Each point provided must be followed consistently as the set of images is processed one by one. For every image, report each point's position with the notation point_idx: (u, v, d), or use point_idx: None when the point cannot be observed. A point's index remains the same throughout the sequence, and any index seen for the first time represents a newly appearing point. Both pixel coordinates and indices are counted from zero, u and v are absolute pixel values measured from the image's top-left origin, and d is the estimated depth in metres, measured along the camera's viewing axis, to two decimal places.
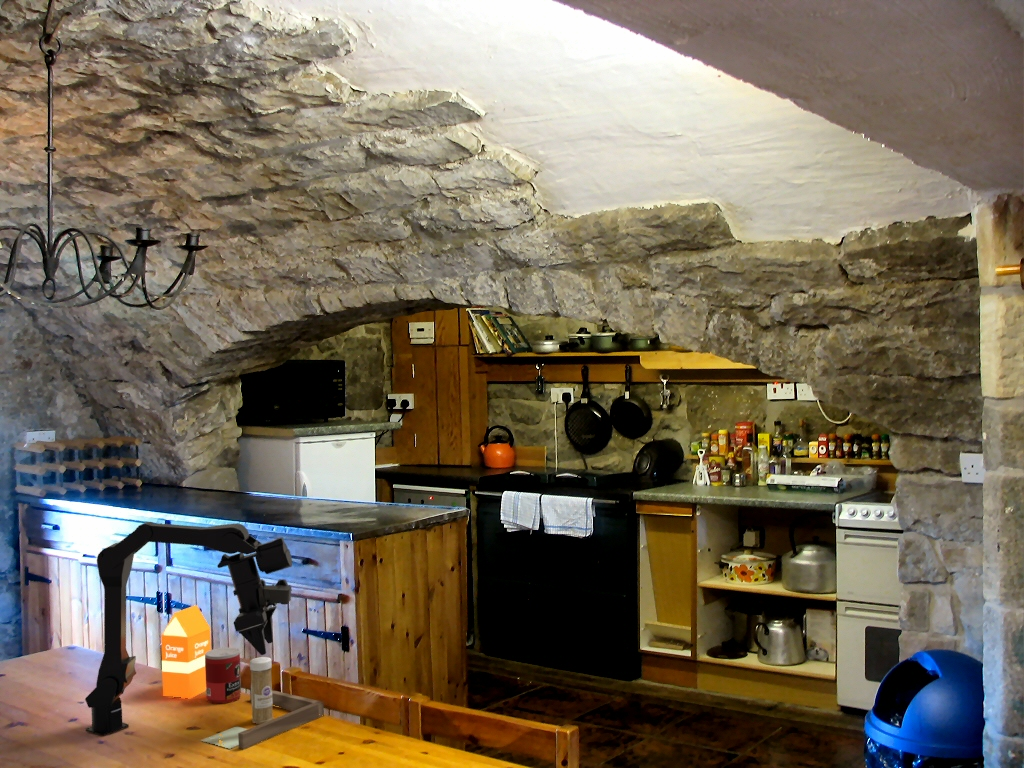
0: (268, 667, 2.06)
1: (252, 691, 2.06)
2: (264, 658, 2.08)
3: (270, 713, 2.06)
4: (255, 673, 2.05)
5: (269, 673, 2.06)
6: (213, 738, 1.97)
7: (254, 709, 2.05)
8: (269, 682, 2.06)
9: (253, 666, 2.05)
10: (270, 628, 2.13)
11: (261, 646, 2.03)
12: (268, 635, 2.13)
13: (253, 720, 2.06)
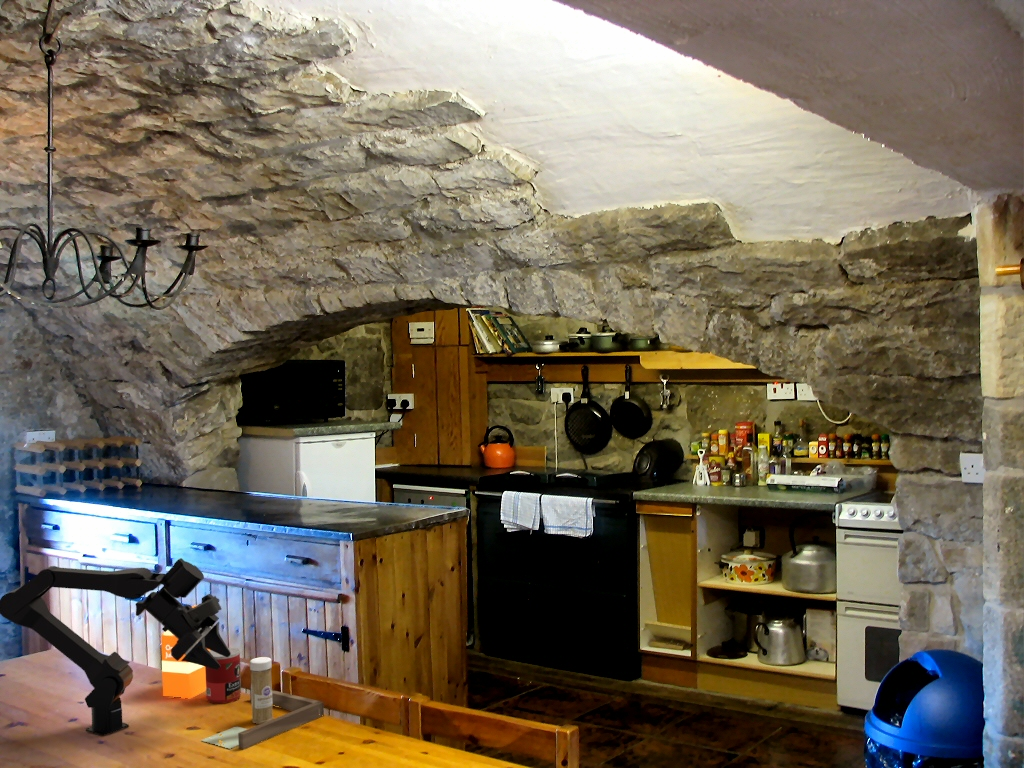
0: (268, 667, 2.06)
1: (252, 691, 2.06)
2: (264, 658, 2.08)
3: (270, 713, 2.06)
4: (255, 673, 2.05)
5: (269, 673, 2.06)
6: (213, 738, 1.97)
7: (254, 709, 2.05)
8: (269, 682, 2.06)
9: (253, 666, 2.05)
10: (221, 643, 2.11)
11: (212, 662, 2.01)
12: (223, 650, 2.11)
13: (253, 720, 2.06)
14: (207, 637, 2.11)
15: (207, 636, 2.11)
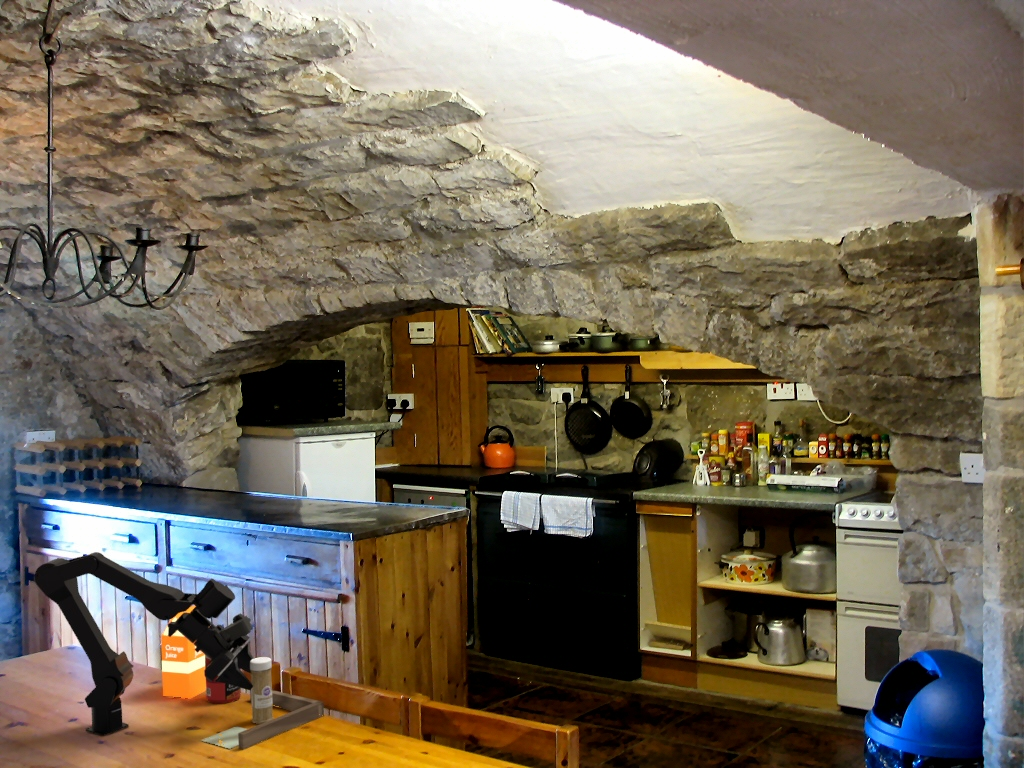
0: (268, 667, 2.06)
1: (252, 691, 2.06)
2: (264, 658, 2.08)
3: (270, 713, 2.06)
4: (255, 673, 2.05)
5: (269, 673, 2.06)
6: (213, 738, 1.97)
7: (254, 709, 2.05)
8: (269, 682, 2.06)
9: (253, 666, 2.05)
10: None
11: (244, 682, 2.02)
12: None
13: (253, 720, 2.06)
14: (238, 657, 2.12)
15: (239, 655, 2.12)
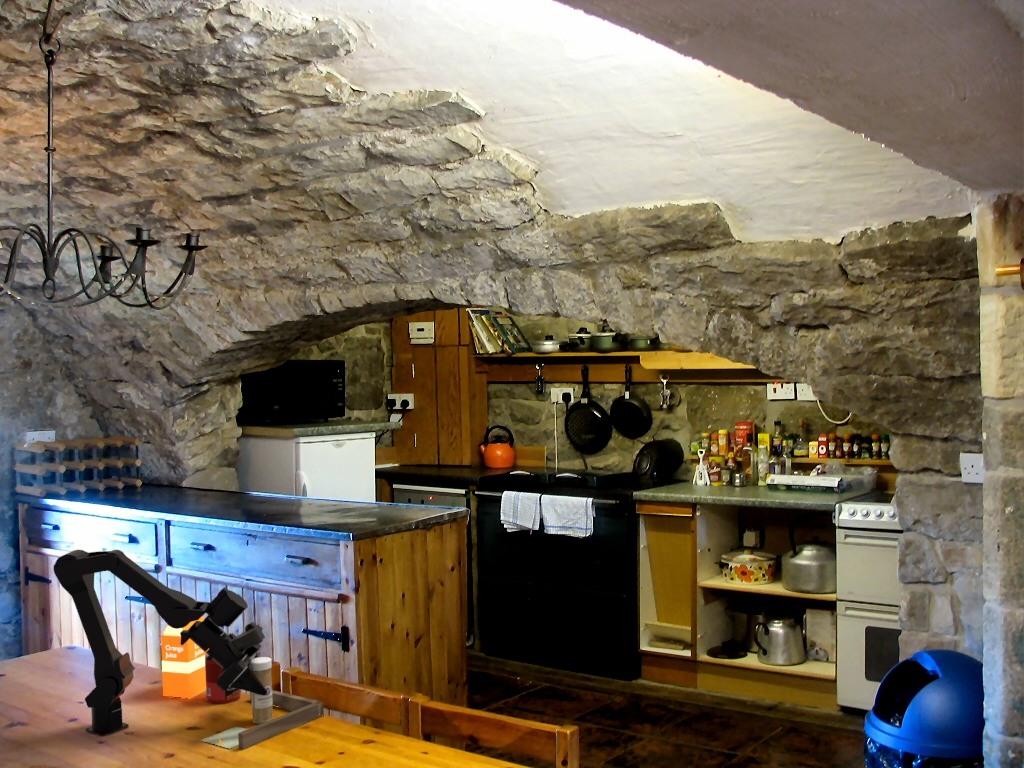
0: (268, 667, 2.06)
1: None
2: (264, 658, 2.08)
3: (270, 713, 2.06)
4: (255, 673, 2.05)
5: (269, 673, 2.06)
6: (213, 738, 1.97)
7: (254, 709, 2.05)
8: (269, 682, 2.06)
9: (253, 666, 2.05)
10: None
11: (259, 688, 2.04)
12: None
13: (253, 720, 2.06)
14: None
15: None
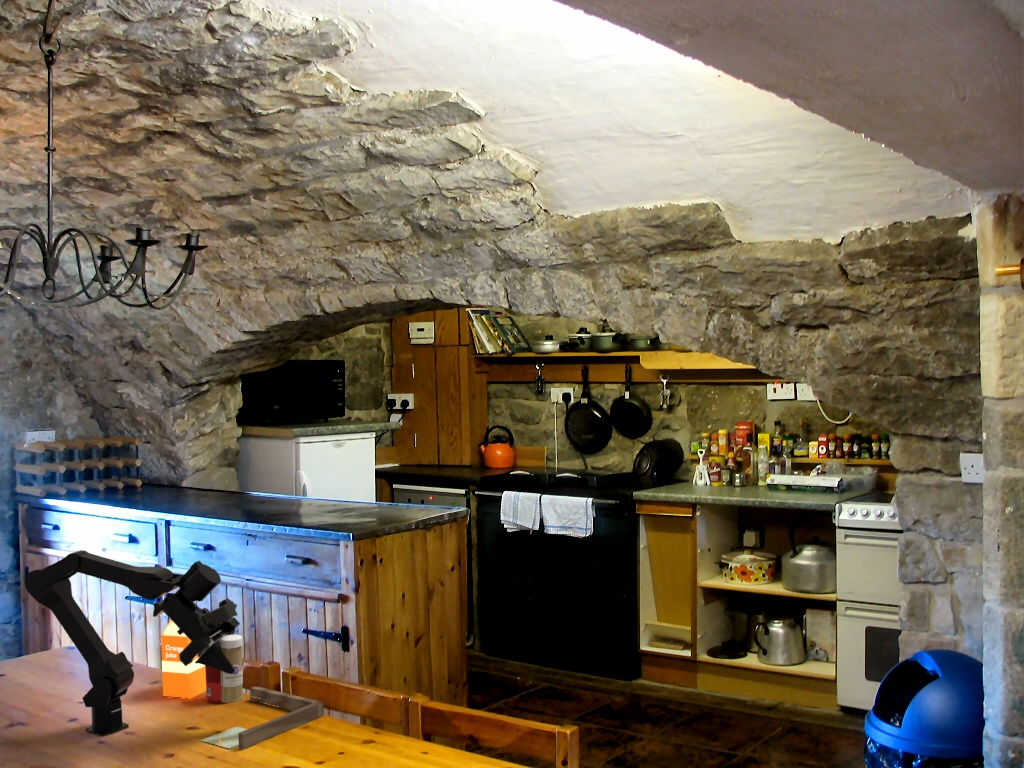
0: (237, 645, 2.00)
1: None
2: (235, 636, 2.02)
3: (239, 692, 2.01)
4: (224, 650, 2.00)
5: (238, 651, 2.01)
6: (213, 738, 1.97)
7: (222, 687, 2.00)
8: (238, 661, 2.01)
9: (222, 643, 2.00)
10: None
11: (226, 666, 1.99)
12: None
13: (222, 698, 2.01)
14: None
15: None
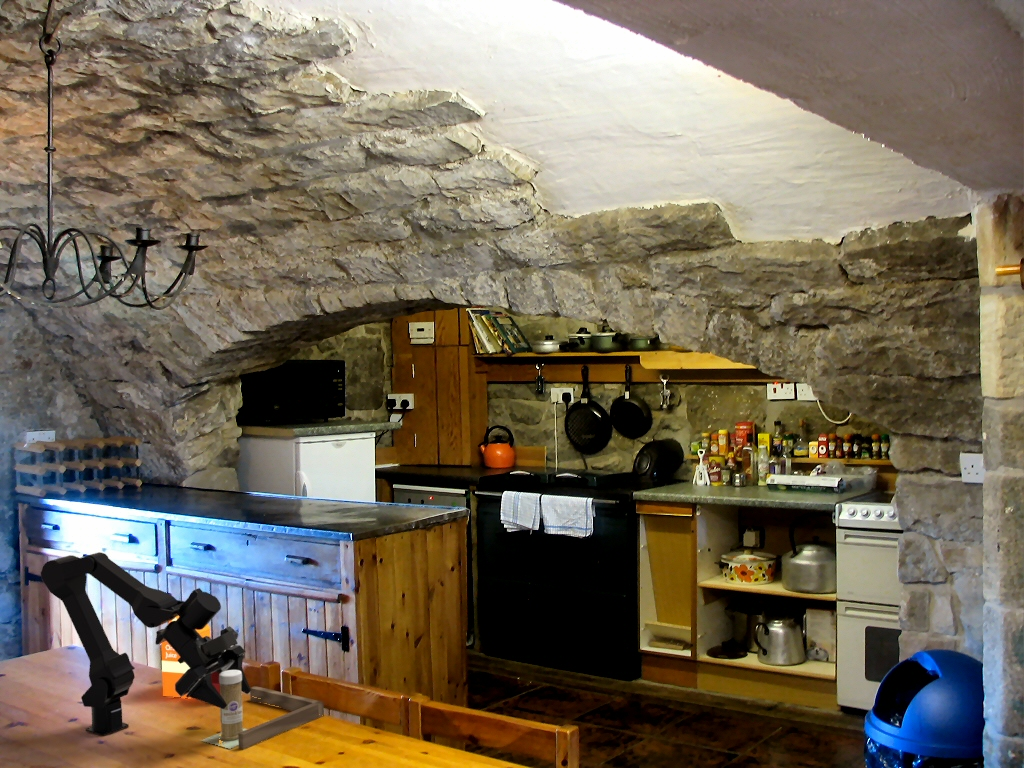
0: (235, 681, 1.96)
1: None
2: (235, 671, 1.98)
3: (238, 730, 1.96)
4: (222, 686, 1.96)
5: (237, 688, 1.96)
6: (213, 738, 1.97)
7: (221, 724, 1.96)
8: (237, 697, 1.96)
9: (220, 679, 1.96)
10: (242, 678, 2.02)
11: (217, 700, 1.92)
12: (243, 686, 2.02)
13: (221, 735, 1.97)
14: None
15: (230, 669, 2.03)
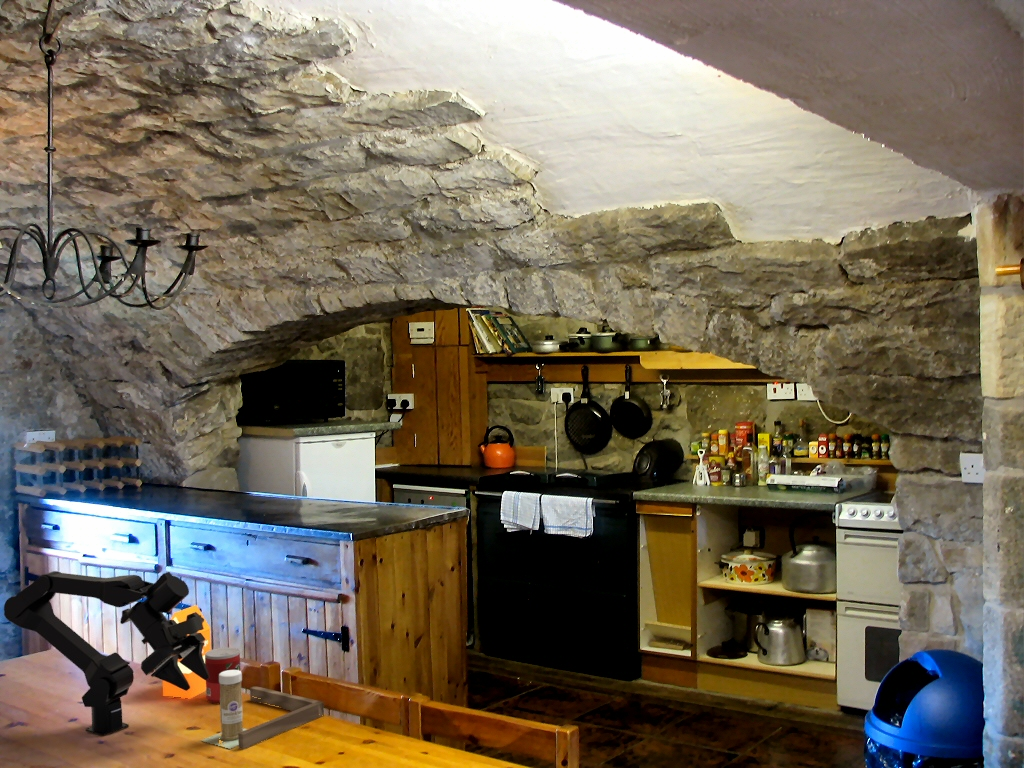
0: (235, 681, 1.96)
1: (220, 705, 1.97)
2: (234, 671, 1.98)
3: (238, 730, 1.96)
4: (222, 686, 1.96)
5: (237, 688, 1.96)
6: (213, 738, 1.97)
7: (221, 724, 1.96)
8: (236, 697, 1.96)
9: (220, 679, 1.96)
10: (201, 665, 2.06)
11: (181, 682, 1.96)
12: (202, 672, 2.05)
13: (221, 735, 1.97)
14: (189, 657, 2.06)
15: (189, 655, 2.07)
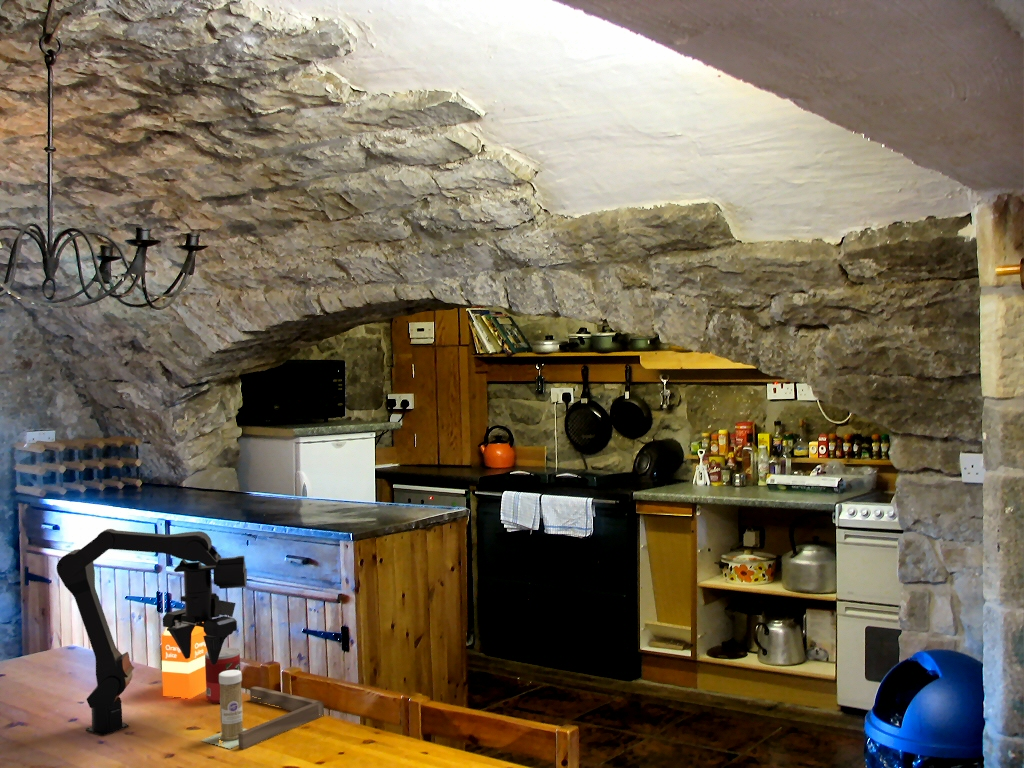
0: (235, 681, 1.96)
1: (220, 705, 1.97)
2: (234, 671, 1.98)
3: (238, 730, 1.96)
4: (222, 686, 1.96)
5: (237, 688, 1.96)
6: (213, 738, 1.97)
7: (221, 724, 1.96)
8: (236, 697, 1.96)
9: (220, 679, 1.96)
10: (190, 643, 2.12)
11: (216, 655, 2.06)
12: (187, 650, 2.11)
13: (221, 735, 1.97)
14: (183, 630, 2.11)
15: (184, 629, 2.11)
